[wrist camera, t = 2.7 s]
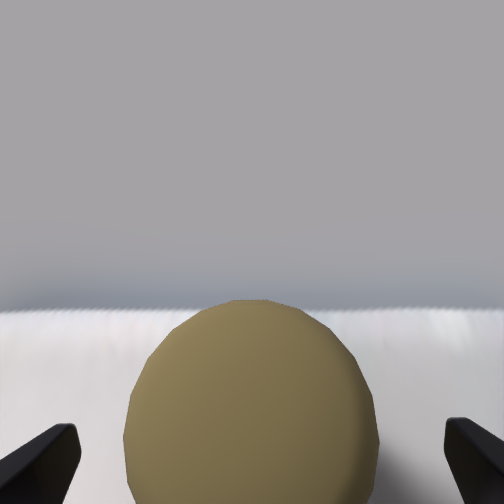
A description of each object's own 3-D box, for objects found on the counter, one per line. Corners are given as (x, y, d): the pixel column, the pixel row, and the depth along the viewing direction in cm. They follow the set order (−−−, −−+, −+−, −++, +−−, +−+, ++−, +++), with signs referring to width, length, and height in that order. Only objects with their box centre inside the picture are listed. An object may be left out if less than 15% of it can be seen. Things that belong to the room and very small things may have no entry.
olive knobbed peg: (293, 346, 17) (304, 216, 8) (366, 474, 14) (522, 514, 5) (182, 405, 16) (42, 337, 7) (236, 555, 13) (120, 796, 4)
